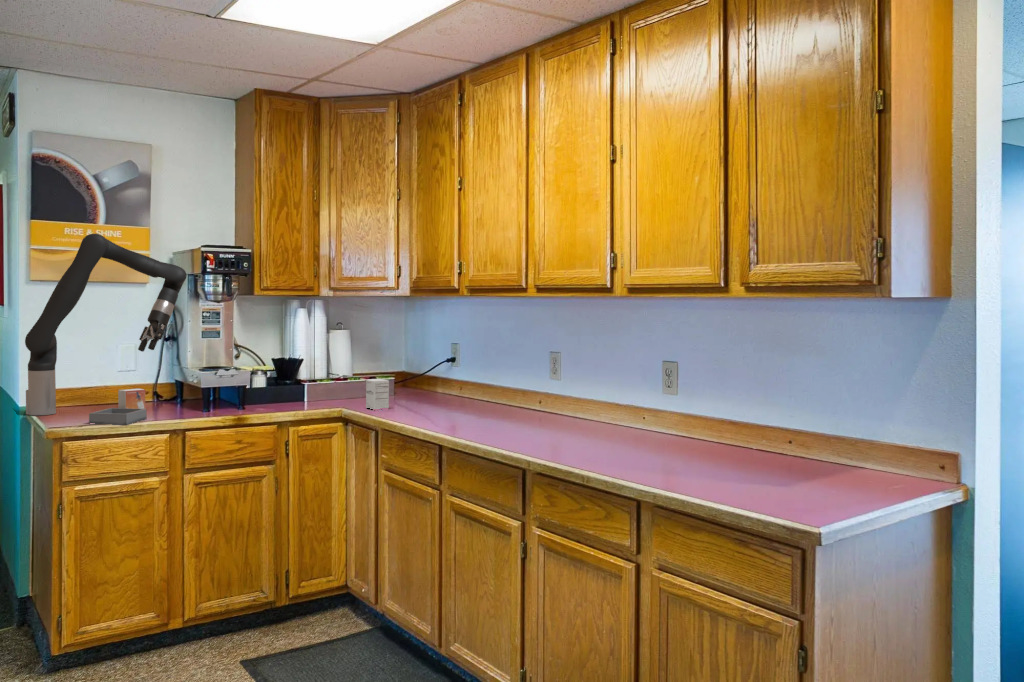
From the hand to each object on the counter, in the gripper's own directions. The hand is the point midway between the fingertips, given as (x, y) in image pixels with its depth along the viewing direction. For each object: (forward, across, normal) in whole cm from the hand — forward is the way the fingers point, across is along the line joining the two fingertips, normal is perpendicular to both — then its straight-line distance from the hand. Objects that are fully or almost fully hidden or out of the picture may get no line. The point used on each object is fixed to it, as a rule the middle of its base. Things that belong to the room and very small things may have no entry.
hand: (145, 350), depth 316 cm
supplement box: (-4, +48, +81) cm, 94 cm away
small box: (+26, -1, +6) cm, 27 cm away
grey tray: (+31, +8, -2) cm, 32 cm away
